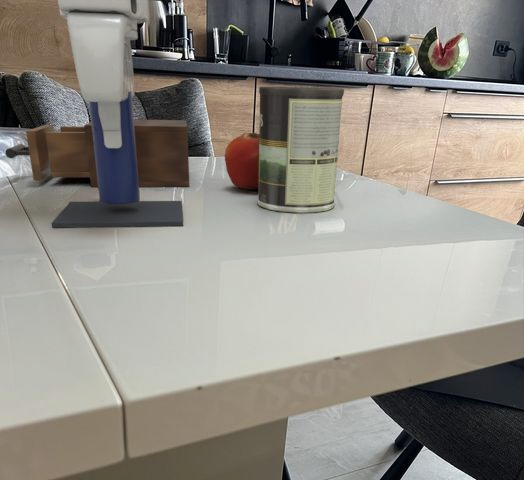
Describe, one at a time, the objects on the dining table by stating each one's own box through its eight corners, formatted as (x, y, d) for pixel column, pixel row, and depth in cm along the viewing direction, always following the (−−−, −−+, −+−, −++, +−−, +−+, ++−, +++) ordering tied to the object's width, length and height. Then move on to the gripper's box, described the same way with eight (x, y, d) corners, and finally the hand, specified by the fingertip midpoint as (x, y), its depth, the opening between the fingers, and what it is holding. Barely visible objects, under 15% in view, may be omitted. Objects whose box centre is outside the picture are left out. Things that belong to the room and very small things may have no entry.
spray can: (97, 204, 62) (83, 75, 56) (102, 196, 66) (89, 76, 60) (138, 203, 63) (128, 76, 57) (140, 196, 67) (131, 77, 61)
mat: (51, 227, 59) (51, 223, 58) (70, 205, 69) (70, 201, 69) (183, 225, 61) (183, 221, 60) (181, 204, 71) (181, 200, 71)
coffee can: (246, 209, 70) (246, 86, 63) (271, 195, 78) (274, 86, 72) (324, 216, 67) (333, 88, 60) (342, 201, 75) (351, 88, 69)
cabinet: (91, 187, 82) (84, 125, 78) (102, 172, 95) (96, 119, 91) (189, 186, 84) (187, 126, 80) (187, 172, 97) (185, 120, 93)
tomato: (242, 182, 88) (242, 129, 85) (294, 188, 85) (296, 132, 81) (212, 191, 81) (211, 133, 77) (268, 197, 77) (270, 136, 74)
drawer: (3, 180, 80) (-6, 130, 77) (25, 167, 92) (18, 124, 89) (127, 180, 83) (122, 131, 80) (133, 167, 94) (129, 125, 91)
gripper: (86, 11, 64) (99, 136, 70) (51, -18, 46) (72, 155, 52) (140, 13, 65) (149, 137, 71) (127, -14, 47) (140, 155, 53)
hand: (116, 144), depth 62 cm, fingers closed on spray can, 4 cm apart
